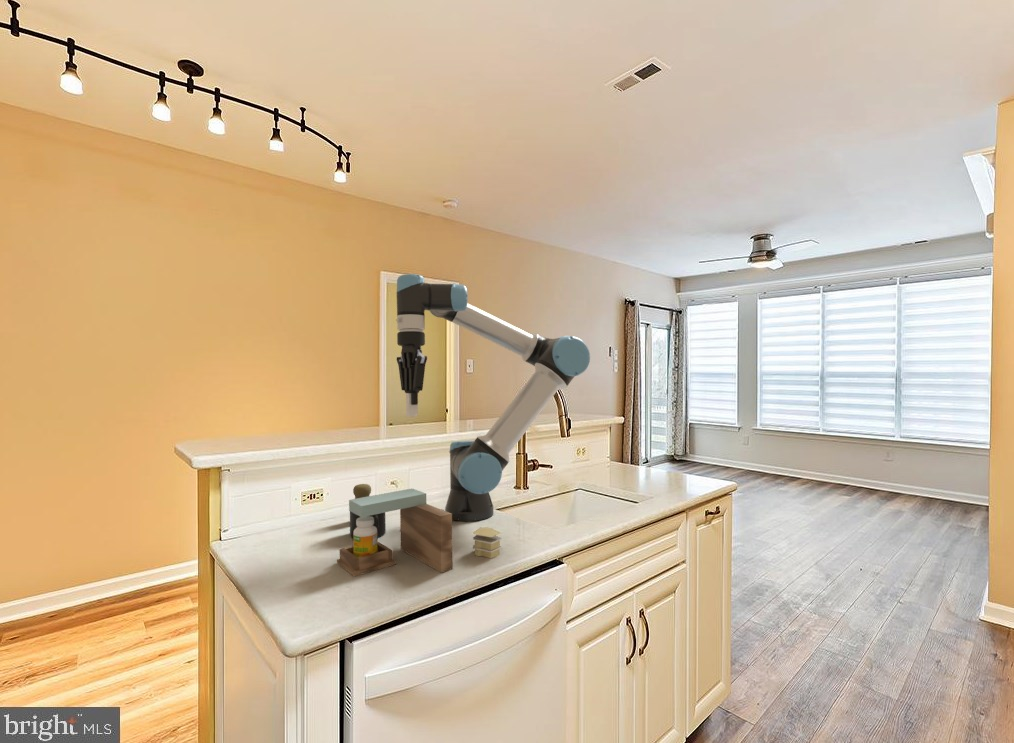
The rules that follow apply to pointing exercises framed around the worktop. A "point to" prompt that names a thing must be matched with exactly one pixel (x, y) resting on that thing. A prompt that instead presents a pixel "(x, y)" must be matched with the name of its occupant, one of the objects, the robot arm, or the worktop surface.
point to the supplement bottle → (364, 537)
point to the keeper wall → (427, 535)
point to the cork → (362, 490)
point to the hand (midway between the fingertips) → (412, 416)
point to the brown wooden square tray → (365, 560)
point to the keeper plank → (386, 502)
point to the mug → (378, 523)
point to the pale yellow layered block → (487, 542)
